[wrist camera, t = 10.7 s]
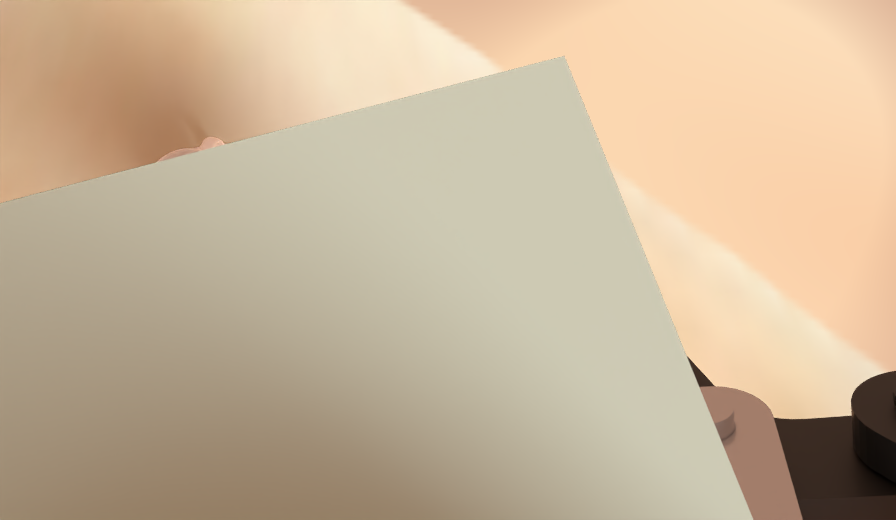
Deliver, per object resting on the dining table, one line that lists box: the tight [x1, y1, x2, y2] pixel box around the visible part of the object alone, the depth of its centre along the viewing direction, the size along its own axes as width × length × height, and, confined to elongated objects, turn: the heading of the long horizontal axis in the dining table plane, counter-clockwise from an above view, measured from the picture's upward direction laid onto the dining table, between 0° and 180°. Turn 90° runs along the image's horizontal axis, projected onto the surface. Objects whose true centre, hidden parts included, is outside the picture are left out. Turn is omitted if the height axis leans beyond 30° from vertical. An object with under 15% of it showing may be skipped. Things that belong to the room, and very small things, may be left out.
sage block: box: [0, 56, 753, 520], centre depth 11 cm, size 5×5×11 cm
